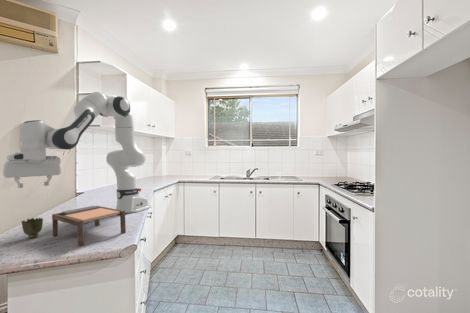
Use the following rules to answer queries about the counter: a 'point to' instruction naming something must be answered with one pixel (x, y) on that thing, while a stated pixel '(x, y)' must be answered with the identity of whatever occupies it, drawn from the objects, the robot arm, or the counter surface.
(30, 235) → the bronze rounded piece
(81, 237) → the frame
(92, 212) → the trapdoor
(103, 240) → the counter surface
